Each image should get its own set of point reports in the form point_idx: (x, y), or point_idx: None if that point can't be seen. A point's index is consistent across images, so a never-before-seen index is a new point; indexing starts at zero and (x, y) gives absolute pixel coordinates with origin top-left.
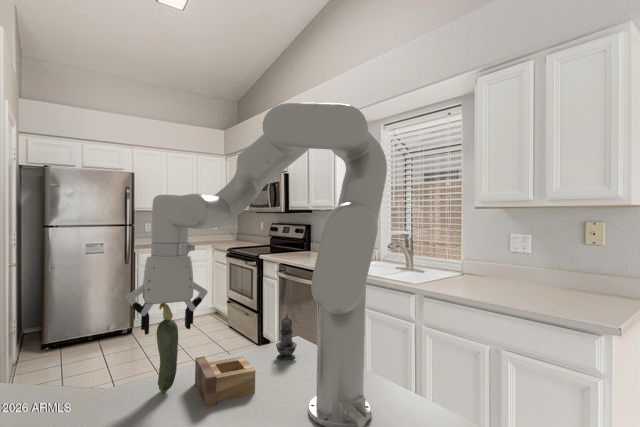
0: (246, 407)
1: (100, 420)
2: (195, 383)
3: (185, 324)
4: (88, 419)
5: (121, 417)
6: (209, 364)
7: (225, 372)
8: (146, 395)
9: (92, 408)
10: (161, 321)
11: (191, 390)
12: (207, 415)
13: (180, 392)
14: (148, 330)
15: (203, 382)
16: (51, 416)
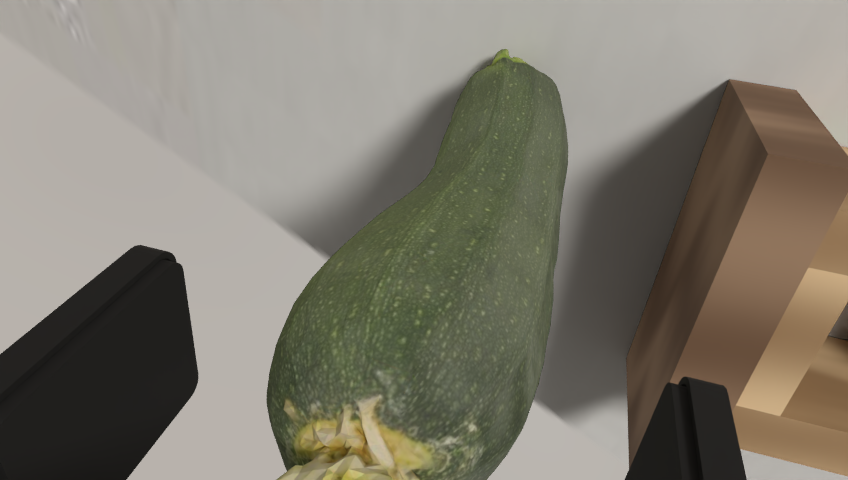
0: (778, 460)
1: (216, 174)
2: (722, 103)
3: (652, 443)
4: (169, 135)
5: (291, 204)
6: (821, 254)
7: (813, 423)
8: (414, 54)
9: (165, 35)
10: (286, 408)
11: (659, 156)
12: (602, 404)
13: (593, 140)
14: (171, 415)
15: (650, 374)
16: (15, 3)
